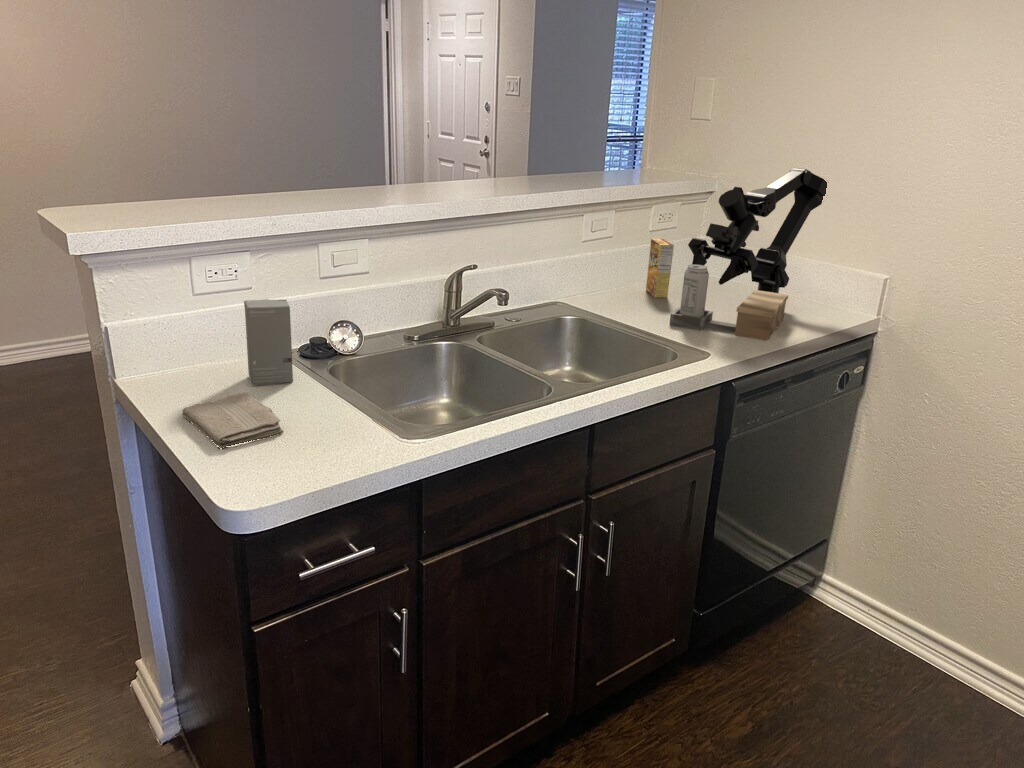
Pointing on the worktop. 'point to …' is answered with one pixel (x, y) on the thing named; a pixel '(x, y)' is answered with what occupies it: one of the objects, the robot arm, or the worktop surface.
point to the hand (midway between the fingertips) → (704, 279)
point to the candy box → (659, 267)
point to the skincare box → (268, 341)
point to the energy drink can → (694, 291)
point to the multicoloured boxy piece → (742, 317)
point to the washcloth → (233, 420)
